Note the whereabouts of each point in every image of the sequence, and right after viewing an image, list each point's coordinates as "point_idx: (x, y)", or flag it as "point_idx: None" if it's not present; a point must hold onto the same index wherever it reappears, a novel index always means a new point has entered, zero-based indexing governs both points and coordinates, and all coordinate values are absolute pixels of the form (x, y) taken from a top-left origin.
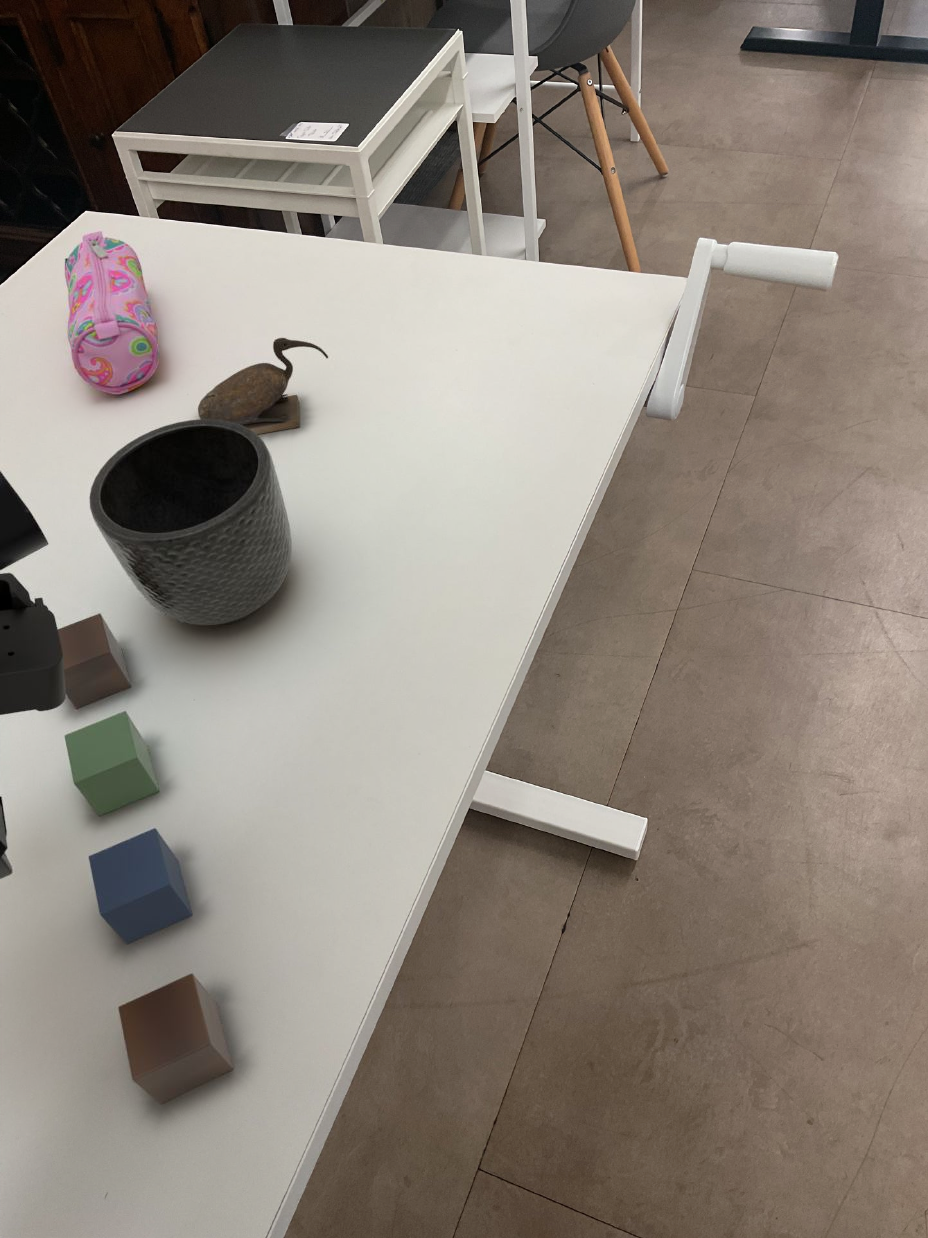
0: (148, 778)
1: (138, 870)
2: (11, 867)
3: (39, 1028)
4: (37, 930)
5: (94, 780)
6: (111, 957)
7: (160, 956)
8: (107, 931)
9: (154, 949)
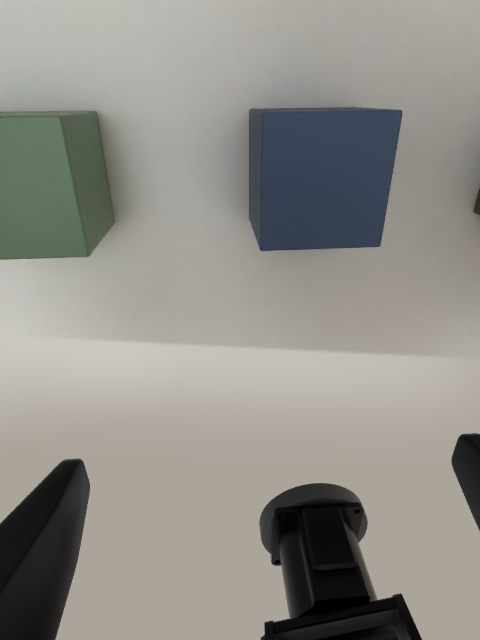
0: (84, 117)
1: (337, 167)
2: (477, 439)
3: (383, 326)
4: (261, 319)
5: (86, 218)
6: None
7: None
8: None
9: None
